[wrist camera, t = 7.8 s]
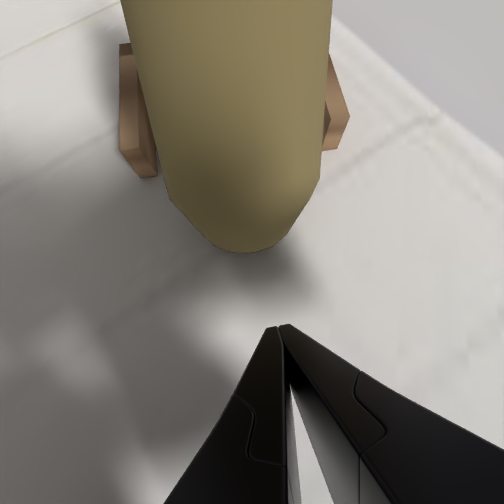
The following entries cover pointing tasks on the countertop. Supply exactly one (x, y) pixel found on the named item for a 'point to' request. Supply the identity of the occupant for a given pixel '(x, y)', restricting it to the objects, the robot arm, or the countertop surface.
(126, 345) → the countertop surface
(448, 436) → the robot arm
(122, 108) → the bay
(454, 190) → the countertop surface
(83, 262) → the countertop surface
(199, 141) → the squeeze bottle
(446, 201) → the countertop surface
